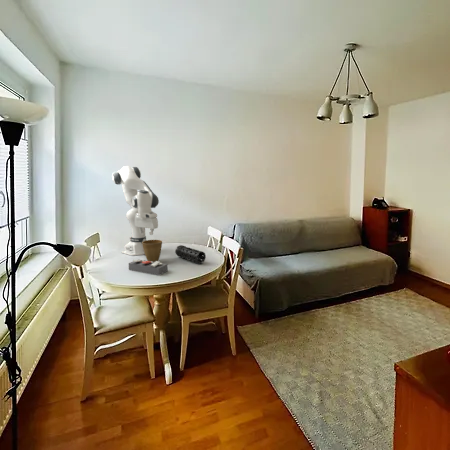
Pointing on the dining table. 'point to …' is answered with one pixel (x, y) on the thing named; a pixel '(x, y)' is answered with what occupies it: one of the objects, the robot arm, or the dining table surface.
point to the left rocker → (137, 261)
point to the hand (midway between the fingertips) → (146, 234)
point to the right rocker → (155, 264)
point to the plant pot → (152, 249)
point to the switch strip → (148, 267)
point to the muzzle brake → (190, 254)
